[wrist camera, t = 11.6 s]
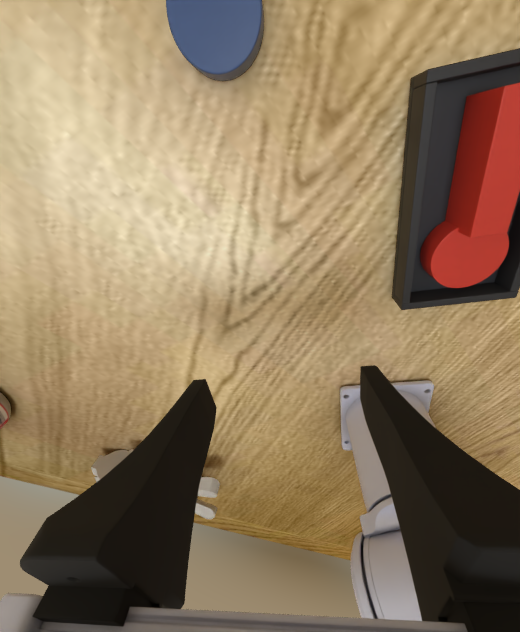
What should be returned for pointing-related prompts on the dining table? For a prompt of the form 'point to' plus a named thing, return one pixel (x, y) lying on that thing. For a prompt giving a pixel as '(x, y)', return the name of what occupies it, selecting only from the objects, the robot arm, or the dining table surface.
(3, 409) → the soda can
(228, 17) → the blue spoon
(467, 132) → the red spoon
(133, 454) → the robot arm
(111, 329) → the dining table surface
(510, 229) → the tray
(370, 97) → the dining table surface
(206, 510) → the white faceted figure
